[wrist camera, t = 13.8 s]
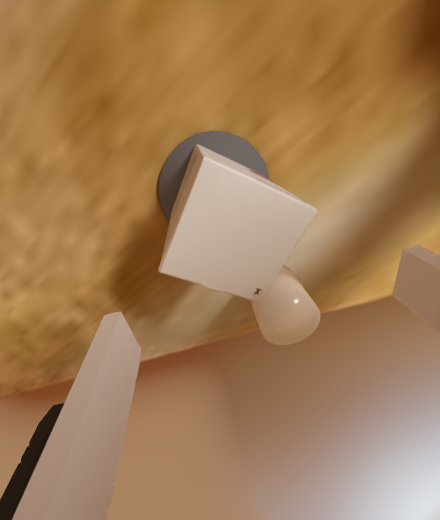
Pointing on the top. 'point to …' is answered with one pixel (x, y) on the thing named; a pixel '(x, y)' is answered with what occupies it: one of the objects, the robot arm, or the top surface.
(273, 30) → the top surface
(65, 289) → the top surface
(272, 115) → the top surface
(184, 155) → the base disk
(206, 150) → the supplement box
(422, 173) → the top surface
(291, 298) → the beige rounded cylinder
